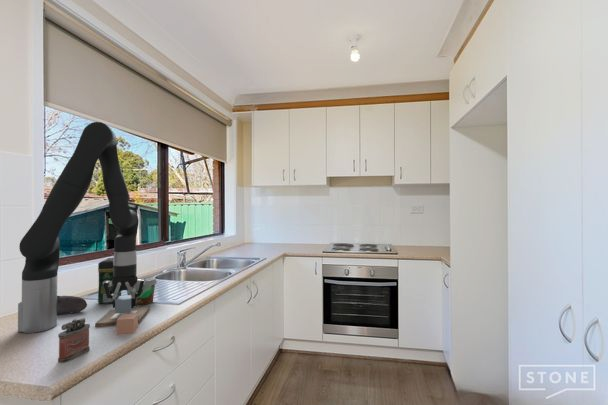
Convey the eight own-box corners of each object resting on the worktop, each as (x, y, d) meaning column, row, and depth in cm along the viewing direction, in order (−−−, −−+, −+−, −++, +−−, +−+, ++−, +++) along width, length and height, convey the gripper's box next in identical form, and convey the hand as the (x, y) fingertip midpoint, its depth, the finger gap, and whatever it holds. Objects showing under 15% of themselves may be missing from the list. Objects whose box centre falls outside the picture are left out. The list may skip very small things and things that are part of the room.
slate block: (115, 313, 111) (115, 300, 111) (119, 308, 116) (119, 295, 116) (130, 312, 112) (130, 299, 112) (134, 307, 117) (134, 295, 117)
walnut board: (95, 326, 105) (95, 323, 105) (110, 312, 119) (110, 309, 119) (139, 323, 108) (139, 319, 108) (149, 310, 122) (149, 306, 122)
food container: (120, 308, 124) (120, 283, 124) (125, 303, 130) (125, 280, 130) (153, 305, 127) (153, 282, 127) (156, 301, 133) (156, 278, 133)
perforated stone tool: (89, 309, 122) (89, 292, 122) (83, 314, 117) (83, 296, 117) (46, 312, 119) (46, 294, 119) (37, 317, 113) (38, 298, 114)
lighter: (83, 348, 90) (84, 314, 90) (92, 350, 89) (93, 315, 89) (54, 361, 82) (55, 324, 82) (63, 363, 81) (64, 326, 81)
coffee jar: (103, 298, 137) (104, 256, 137) (123, 296, 139) (123, 256, 139) (94, 305, 127) (95, 260, 127) (116, 303, 129) (116, 260, 129)
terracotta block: (116, 335, 99) (116, 319, 99) (121, 328, 104) (122, 314, 104) (133, 333, 100) (133, 318, 100) (137, 327, 105) (138, 313, 105)
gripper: (148, 260, 119) (148, 303, 119) (107, 261, 116) (107, 306, 116) (143, 264, 112) (143, 310, 112) (99, 265, 108) (99, 313, 108)
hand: (124, 308), depth 114 cm, fingers closed on slate block, 5 cm apart
